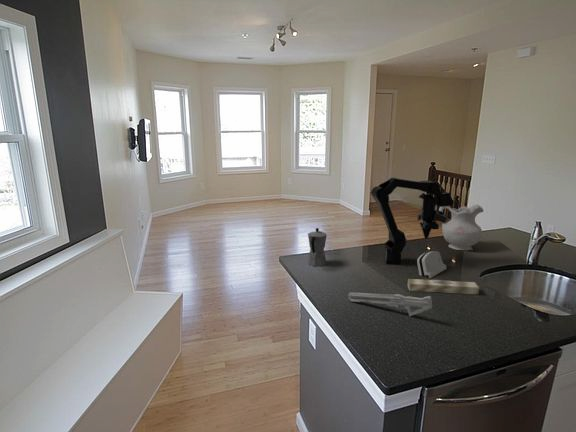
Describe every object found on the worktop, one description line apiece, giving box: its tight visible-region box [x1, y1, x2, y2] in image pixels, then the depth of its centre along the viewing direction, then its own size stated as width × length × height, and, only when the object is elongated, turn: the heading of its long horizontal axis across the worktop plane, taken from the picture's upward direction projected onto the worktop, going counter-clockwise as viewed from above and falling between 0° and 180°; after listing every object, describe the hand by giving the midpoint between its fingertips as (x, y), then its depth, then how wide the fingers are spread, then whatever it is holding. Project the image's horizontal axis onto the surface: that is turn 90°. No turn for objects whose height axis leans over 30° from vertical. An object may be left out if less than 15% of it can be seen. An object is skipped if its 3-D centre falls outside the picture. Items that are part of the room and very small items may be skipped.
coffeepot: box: [307, 227, 328, 267], centre depth 171 cm, size 15×9×18 cm, turn 160°
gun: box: [347, 291, 433, 318], centre depth 128 cm, size 2×30×8 cm, turn 59°
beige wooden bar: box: [407, 278, 480, 295], centre depth 143 cm, size 26×5×3 cm, turn 81°
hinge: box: [416, 250, 447, 279], centre depth 162 cm, size 17×5×10 cm, turn 132°
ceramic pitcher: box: [438, 204, 484, 252], centre depth 191 cm, size 22×20×25 cm
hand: (426, 238), depth 173 cm, fingers closed
